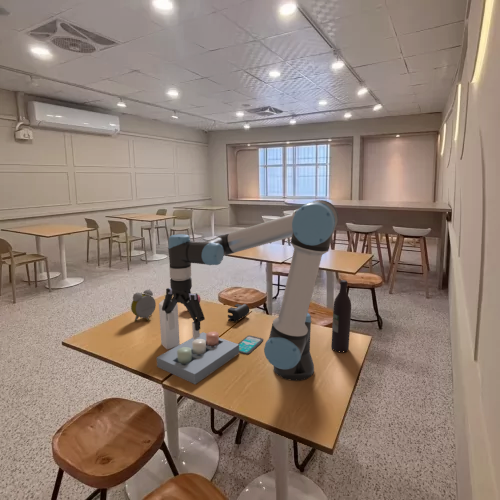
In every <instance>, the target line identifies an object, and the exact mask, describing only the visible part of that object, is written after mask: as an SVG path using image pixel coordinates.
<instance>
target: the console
mask: <svg viewBox="0 0 500 500" xmlns="http://www.w3.org/2000/svg"><path fill="white" fill-rule="evenodd" d="M207 333H208V332H207ZM207 333H206V332H204V331H203V332H200V337H198V338H197V339H204V340H205V341H206V334H207ZM195 340H196V339H195ZM193 341H194V339H193V337H191V338H190V339H188V340H186V341H184V342H182V343H181V344H180V345H178V346H176V347H173V348H170V349H168V350H166V352H164V353H161V354H160V355H159V356H156V367H157V368H159V369H161V370H163V371H165V372H168V373H170V374H171V375H175V376H176V377H177V378H178V377H179V378H180V379H183V380H185V381H187V382H188V383H191V384H193V385H197V384H198V383H200V382H201V381H202V380H203V379H206V378H207V377H208V376H210V375H211V374H212V373H214V372H215V371H217V370H218V369H219V368H220V367H222V366H224V365H225V364H227V363H228V362H229V361H231V360H232V359H234V358H235V357H236V356H238V355H239V354H240V353H239V344H238V343H236V342H233V341H231V340H227V339H225V338H222V337H219V344H218V345H217V346H208V345H207V344H206V352H205V353H204V354H201V355H196V354H194V353H193V346H192V342H193ZM182 347H189V348H191V353H192V361H191V362H189V363H187V364H180V363H179V362H178V356H177V350H178V349H179V348H182Z"/></svg>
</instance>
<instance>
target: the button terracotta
mask: <svg viewBox="0 0 500 500" xmlns="http://www.w3.org/2000/svg"><path fill="white" fill-rule="evenodd" d="M219 336H220V335H219V332H218V331H208V332H207V334H206V344H207V345H208V346H217V345H218V344H219V338H220V337H219Z"/></svg>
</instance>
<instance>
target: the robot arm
mask: <svg viewBox="0 0 500 500" xmlns="http://www.w3.org/2000/svg"><path fill="white" fill-rule="evenodd" d="M338 223H339V213H338V210H337V208H336V207H335V205H333V204H332V203H331V202H330V201H327V200H322V199H317V200H313V201H309V202H307V203H304V204H303V205H301V206H300V207H299V208H297V209H295V210H294V211H293V213H290V214H288V215H284V216H280V217H277V218H274V219H272V220H271V219H270V220H268V221H265V222H262V223H258V224H255V225H252V226H249V227H245V228H241V229H239V230H235V231H232V232H229V233H225V234H221V235H219V236H216V237H214V238H211V239H208V240H205V241H193V240H192V241H191V236H190V235H188V234H184V233H183V234H182V233H178V234H171V235H170V236H169V237H168V238H167V239H168V243H167V244H168V245H167V246H168V247H167V249H168V250H167V251H168V261H169V264H168V265H169V278H170V280H169V283H170V287H168V288H166V289H165V295H166V296H165V295H164V299H165V300H164V299H163V300H164V303H163V307H162V310H163V311H165V312H166V315H167V321H168V330H169V331H170V330H172V329H174V328H175V322H174V312H171V311H173V309H174V307H175V306H176V304H179V303H180V304H182V305H183V306H184V307H185V306H186V307H185V308H186V309H188V310H187V311H188V314H189V315H190V316H191V318H192V320H193V321H192V323H191V326H192V327H191V328H192V338H193V339H194V340H195V339H197V338H198V337H200V333H201V332H200V331H201V322H202V321H205V320H206V318H205V315H204V312H203V310H202V306H201V302H200V303H199V300H198V295H199V294H198V293H192V291H191V289H192V287H193V285H192V283H193V282H192V264H198V265H207V266H218V265H220V264H221V263H222V261H223V260H224V257H225V256H228V255H231V254H234V253H238V252H242V251H245V250H249V249H252V248H253V249H254V248H257V247H260V246H264V245H267V244H271V243H274V242H279V241H282V240H286V239H289V238H291V239H290V244H291V246H292V247H293V249H294V250H293V254H292V257H291V261H290V266H289V271H288V273H287V274H288V275H287V278H286V284H285V287H284V292H283V293H284V294H283V297H282V301H281V307H280V310H279V313H278V317H276V318H274V319H273V320H272V323H271V324H272V325H271V329H270V333H269V337H268V339H267V340H266V342H265V344H264V348H263V351H264V356H265V358H266V359H267V361H268V363H270V364H271V366H273V372H274V373H275V374H276V375H277V376H278V377H280V378H282V379H284V380H288V381H293V382H294V381H296V382H297V381H304V380H307V379H309V378H311V376H313V374H314V372H315V363H314V360H313V358H312V355H311V327H312V326H311V325H312V316H311V314H310V313H309V308H310V304H311V301H312V296H313V292H314V289H315V284H316V280H317V276H318V273H319V269H320V265H321V261H322V256H323V255H325V254H326V253H328V252H329V250H330V247H331V243H332V239H333V234H334V231H335V230H336V227H337V226H338ZM188 301H189V302H188ZM187 302H188V303H187Z"/></svg>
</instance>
